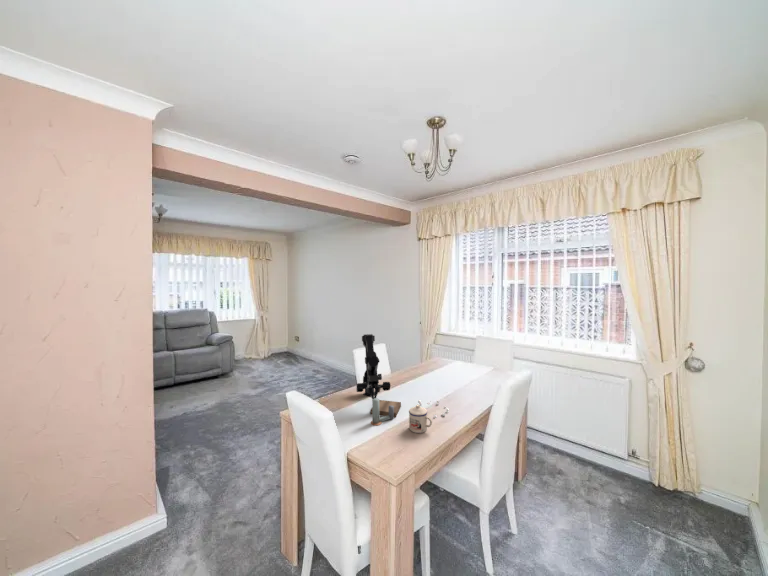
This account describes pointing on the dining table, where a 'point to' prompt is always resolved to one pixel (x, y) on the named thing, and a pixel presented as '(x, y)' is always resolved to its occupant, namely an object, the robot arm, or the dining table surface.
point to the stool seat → (386, 409)
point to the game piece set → (437, 404)
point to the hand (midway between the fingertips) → (374, 402)
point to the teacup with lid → (418, 419)
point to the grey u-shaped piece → (376, 412)
